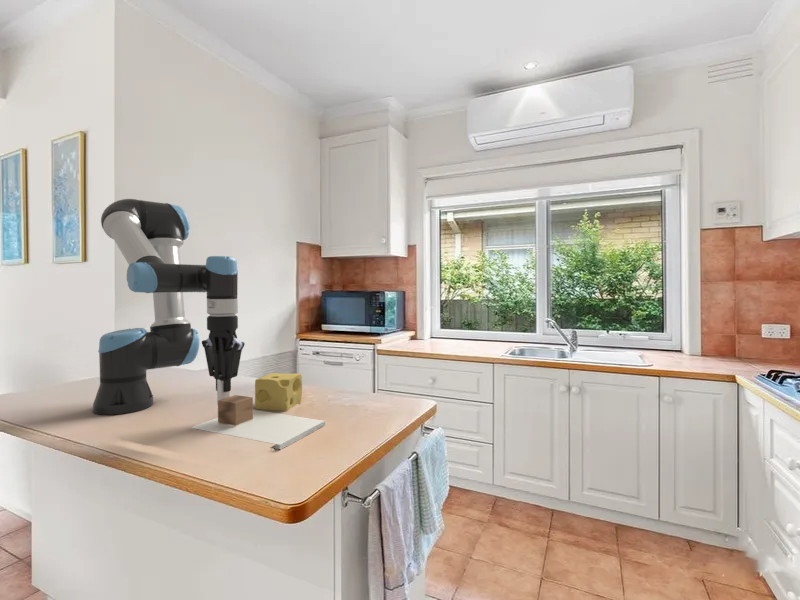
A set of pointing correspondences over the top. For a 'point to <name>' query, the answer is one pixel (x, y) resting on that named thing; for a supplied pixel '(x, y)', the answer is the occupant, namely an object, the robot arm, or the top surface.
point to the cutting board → (267, 428)
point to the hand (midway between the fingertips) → (223, 403)
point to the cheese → (278, 391)
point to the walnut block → (235, 410)
